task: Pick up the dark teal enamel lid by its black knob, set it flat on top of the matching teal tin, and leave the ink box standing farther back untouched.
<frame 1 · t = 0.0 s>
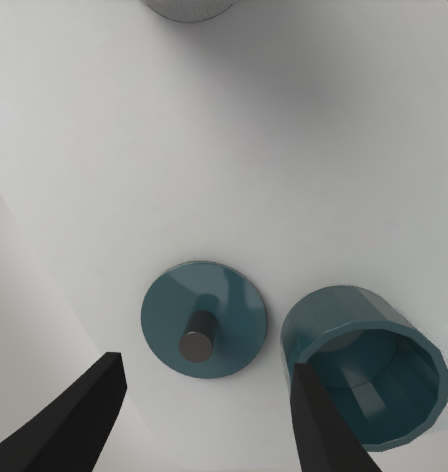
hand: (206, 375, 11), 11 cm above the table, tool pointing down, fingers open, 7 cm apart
tin: (339, 340, 23), on the table
tin lid: (203, 320, 22), point 1 cm above the table
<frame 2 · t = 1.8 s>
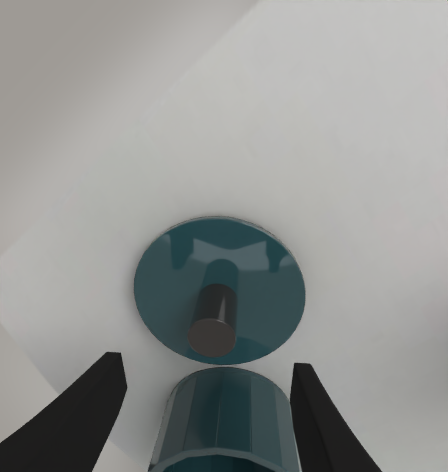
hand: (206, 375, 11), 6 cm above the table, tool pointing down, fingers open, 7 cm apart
tin: (229, 413, 21), on the table
tin lid: (218, 295, 17), point 1 cm above the table
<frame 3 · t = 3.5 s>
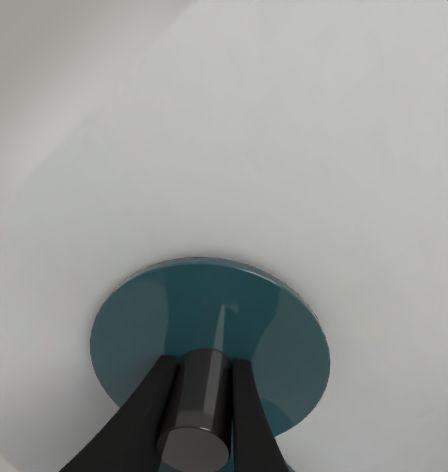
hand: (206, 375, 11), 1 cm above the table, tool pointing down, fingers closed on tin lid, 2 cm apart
tin lid: (208, 360, 12), point 1 cm above the table, touching gripper
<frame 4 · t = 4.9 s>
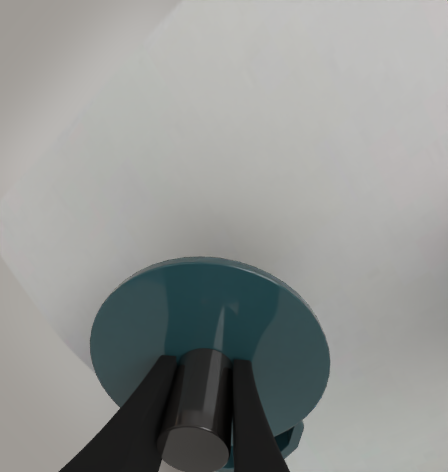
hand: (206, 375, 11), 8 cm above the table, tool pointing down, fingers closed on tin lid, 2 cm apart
tin: (228, 357, 22), on the table
tin lid: (208, 359, 12), point 8 cm above the table, touching gripper
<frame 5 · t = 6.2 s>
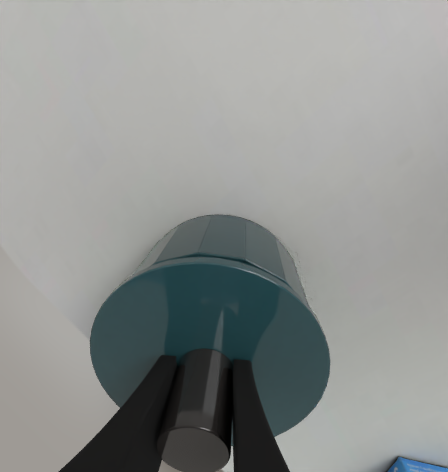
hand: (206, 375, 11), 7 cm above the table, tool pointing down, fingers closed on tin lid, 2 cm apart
tin: (220, 285, 18), on the table
tin lid: (208, 360, 12), point 6 cm above the table, touching gripper
when the fingers open (6 cm above the table, at t = 6.7 s): tin lid stays where it is, resting on tin.
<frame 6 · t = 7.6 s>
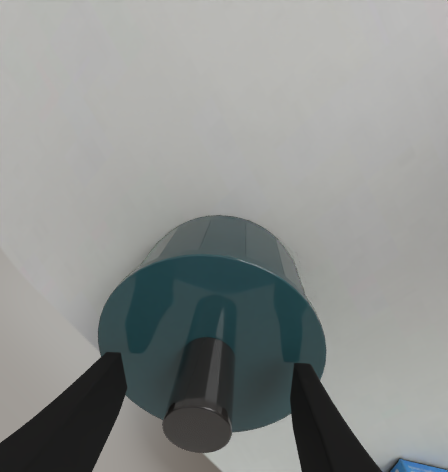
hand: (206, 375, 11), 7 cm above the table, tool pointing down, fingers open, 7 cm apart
tin: (221, 286, 18), on the table
tin lid: (210, 349, 13), point 5 cm above the table, touching tin
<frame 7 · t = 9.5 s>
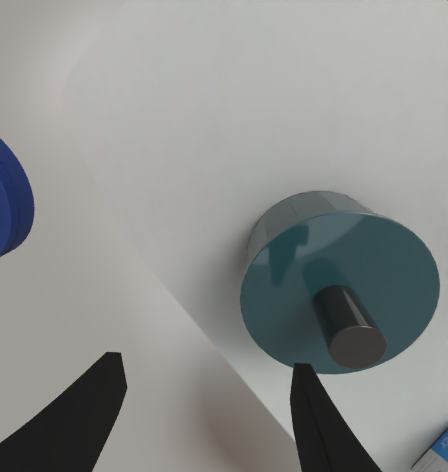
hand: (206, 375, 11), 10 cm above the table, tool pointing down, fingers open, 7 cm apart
tin: (312, 255, 20), on the table
tin lid: (333, 298, 15), point 5 cm above the table, touching tin
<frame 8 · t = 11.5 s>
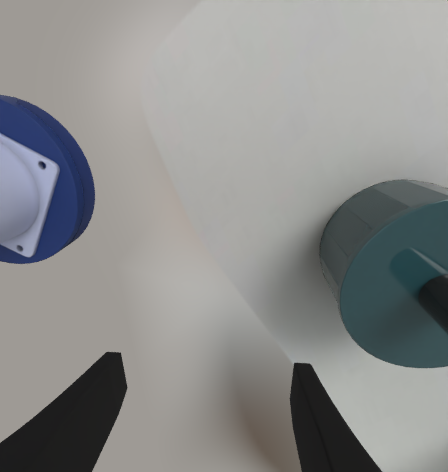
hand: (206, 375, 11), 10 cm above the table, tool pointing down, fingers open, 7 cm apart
tin: (388, 247, 20), on the table
tin lid: (436, 288, 15), point 5 cm above the table, touching tin
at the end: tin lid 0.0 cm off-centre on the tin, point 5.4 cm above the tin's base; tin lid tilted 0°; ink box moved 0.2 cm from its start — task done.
